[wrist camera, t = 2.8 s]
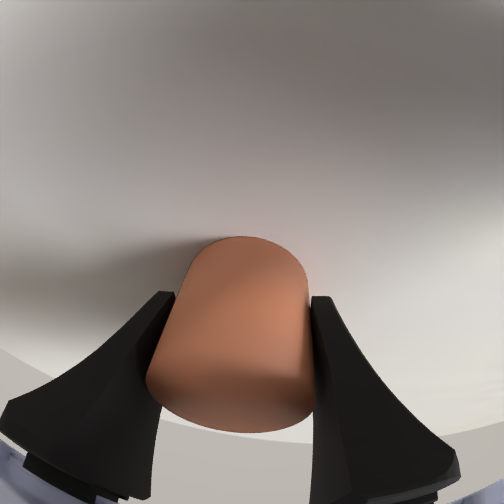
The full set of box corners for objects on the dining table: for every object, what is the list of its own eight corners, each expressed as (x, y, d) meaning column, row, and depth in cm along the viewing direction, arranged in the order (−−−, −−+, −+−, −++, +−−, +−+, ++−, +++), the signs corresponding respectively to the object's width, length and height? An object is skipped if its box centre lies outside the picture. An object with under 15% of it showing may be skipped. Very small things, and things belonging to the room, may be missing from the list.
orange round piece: (331, 266, 11) (352, 383, 6) (275, 341, 13) (269, 441, 9) (207, 216, 10) (157, 325, 6) (176, 307, 12) (139, 404, 8)
